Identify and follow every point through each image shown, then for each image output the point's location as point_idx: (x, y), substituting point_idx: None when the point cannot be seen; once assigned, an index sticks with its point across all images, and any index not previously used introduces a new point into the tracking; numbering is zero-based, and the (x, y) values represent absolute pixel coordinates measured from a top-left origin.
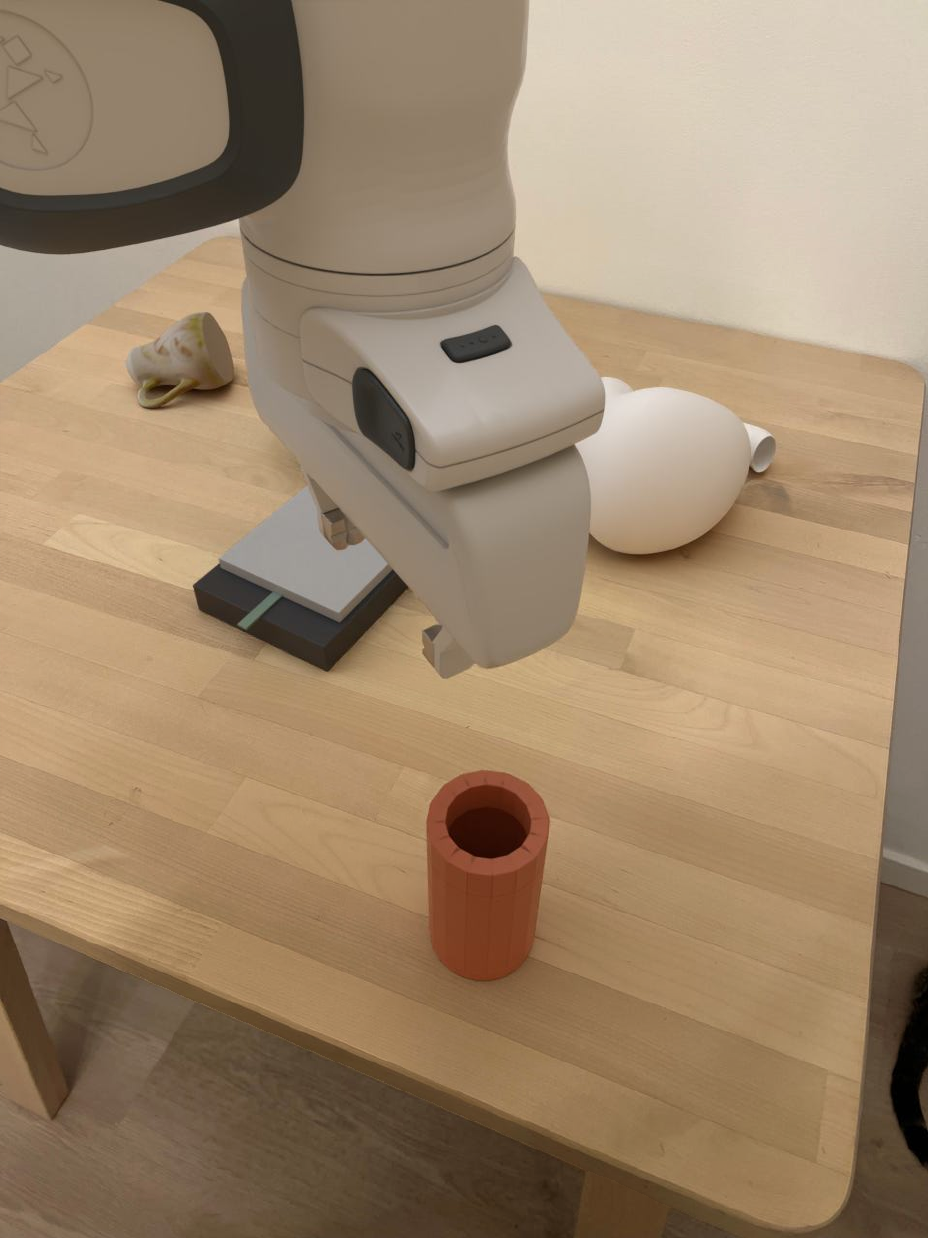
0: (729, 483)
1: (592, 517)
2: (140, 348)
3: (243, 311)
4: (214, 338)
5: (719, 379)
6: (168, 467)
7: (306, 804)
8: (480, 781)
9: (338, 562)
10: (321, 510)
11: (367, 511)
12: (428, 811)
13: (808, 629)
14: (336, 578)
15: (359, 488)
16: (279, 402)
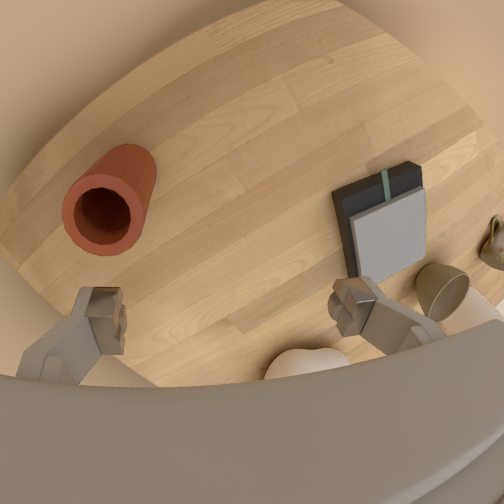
0: None
1: (301, 359)
2: None
3: None
4: (496, 264)
5: None
6: (472, 204)
7: (259, 129)
8: (131, 229)
9: (380, 240)
10: (379, 302)
11: (215, 462)
12: (127, 184)
13: (195, 382)
14: (372, 233)
15: (259, 491)
16: (499, 384)
